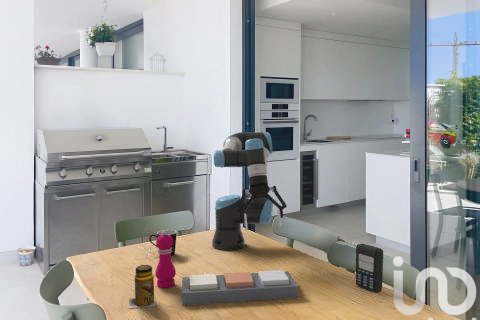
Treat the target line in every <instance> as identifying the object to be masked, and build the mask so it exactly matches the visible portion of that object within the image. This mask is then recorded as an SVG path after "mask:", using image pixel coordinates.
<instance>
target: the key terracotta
mask: <svg viewBox="0 0 480 320" xmlns="http://www.w3.org/2000/svg"><path fill="white" fill-rule="evenodd" d="M250 273H251V272H250V271H245V272H244V271H242V272H227V273H225V272H224V274H223V275H224V282H225V287H226V288H233V287H249V286H254V281H253V279H252V276H251V274H250Z"/></svg>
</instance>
